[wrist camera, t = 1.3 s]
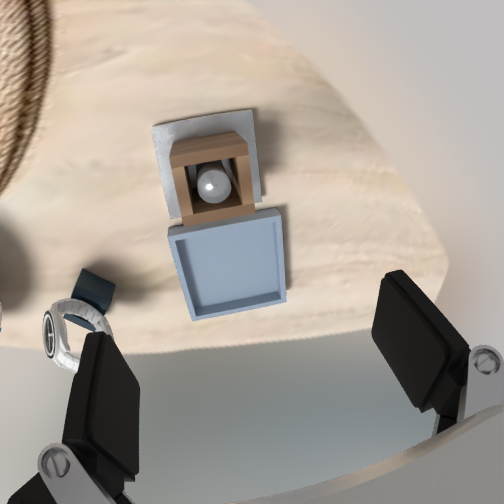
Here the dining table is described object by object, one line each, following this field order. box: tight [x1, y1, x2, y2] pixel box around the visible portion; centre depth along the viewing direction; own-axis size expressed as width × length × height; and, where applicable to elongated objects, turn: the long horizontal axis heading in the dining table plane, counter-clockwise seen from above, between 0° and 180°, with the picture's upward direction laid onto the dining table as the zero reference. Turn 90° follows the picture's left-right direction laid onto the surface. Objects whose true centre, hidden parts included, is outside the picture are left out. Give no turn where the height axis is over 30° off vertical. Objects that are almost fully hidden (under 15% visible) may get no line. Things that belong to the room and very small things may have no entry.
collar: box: [169, 131, 256, 227], centre depth 25 cm, size 6×6×6 cm
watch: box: [43, 268, 115, 373], centre depth 28 cm, size 6×8×11 cm
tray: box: [167, 208, 286, 321], centre depth 34 cm, size 11×11×2 cm
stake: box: [151, 109, 262, 219], centre depth 25 cm, size 9×9×8 cm
